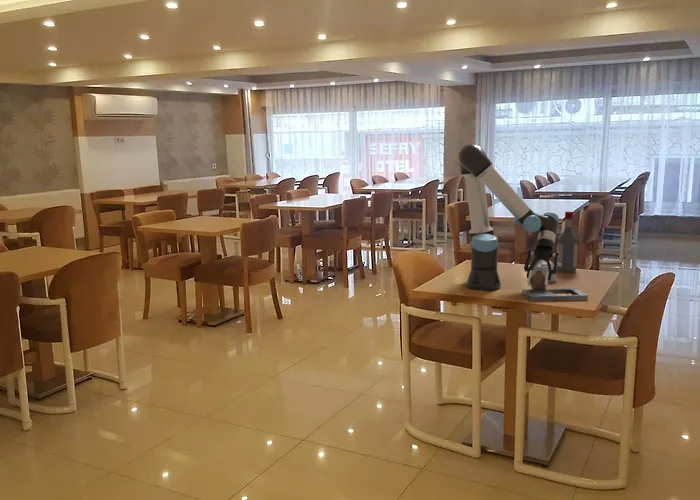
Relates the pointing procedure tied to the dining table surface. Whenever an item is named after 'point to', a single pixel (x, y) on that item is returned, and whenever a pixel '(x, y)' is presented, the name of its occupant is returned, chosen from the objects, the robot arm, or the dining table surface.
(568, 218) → the liquor
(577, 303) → the dining table surface
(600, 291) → the dining table surface
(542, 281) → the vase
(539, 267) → the lumpy-topped squat cylinder
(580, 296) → the grey slab with opening
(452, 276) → the dining table surface
